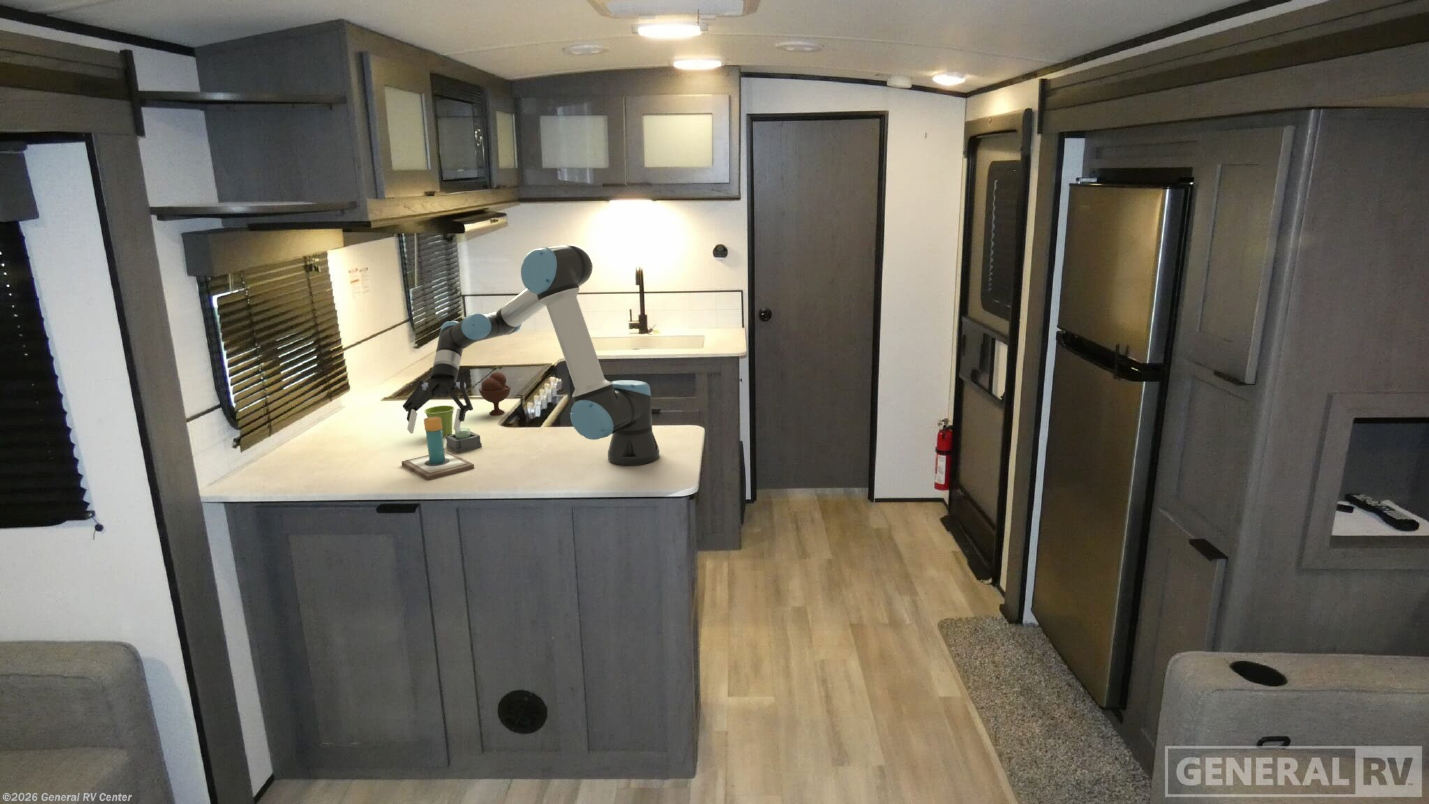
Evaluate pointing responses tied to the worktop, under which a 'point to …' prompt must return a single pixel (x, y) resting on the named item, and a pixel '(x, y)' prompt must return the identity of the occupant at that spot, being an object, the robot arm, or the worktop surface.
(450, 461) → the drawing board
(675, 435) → the worktop surface
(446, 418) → the plant pot
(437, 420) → the orange-topped post
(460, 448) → the button housing
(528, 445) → the worktop surface
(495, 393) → the ice cream bowl
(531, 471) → the worktop surface
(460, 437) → the button
